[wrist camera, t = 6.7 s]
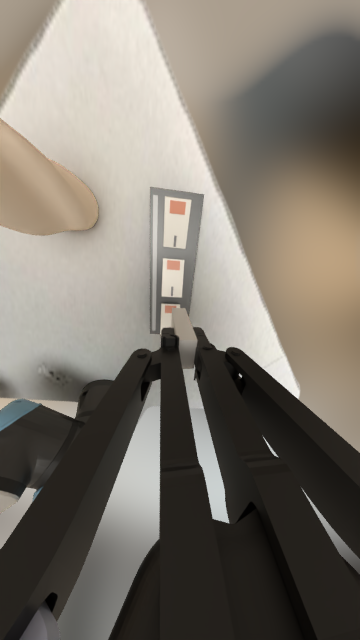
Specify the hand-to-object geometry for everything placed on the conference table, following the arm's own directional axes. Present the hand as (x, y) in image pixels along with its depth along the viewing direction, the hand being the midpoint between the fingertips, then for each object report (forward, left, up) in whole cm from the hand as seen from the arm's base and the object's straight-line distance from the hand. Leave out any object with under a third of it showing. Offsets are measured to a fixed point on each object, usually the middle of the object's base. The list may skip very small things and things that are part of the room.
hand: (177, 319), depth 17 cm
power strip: (0, -3, -20) cm, 20 cm away
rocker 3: (0, -7, -14) cm, 16 cm away
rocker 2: (0, +2, -14) cm, 15 cm away
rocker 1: (0, +11, -14) cm, 18 cm away
